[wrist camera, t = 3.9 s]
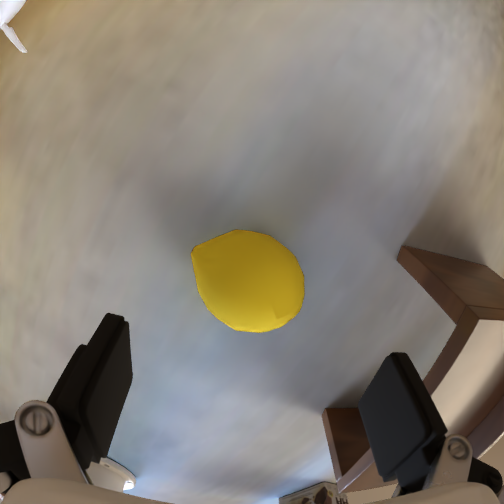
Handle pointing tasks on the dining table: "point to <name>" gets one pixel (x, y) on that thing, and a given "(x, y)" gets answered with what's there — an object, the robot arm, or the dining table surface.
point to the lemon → (248, 280)
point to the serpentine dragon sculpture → (3, 10)
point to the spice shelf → (441, 367)
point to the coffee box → (316, 495)
